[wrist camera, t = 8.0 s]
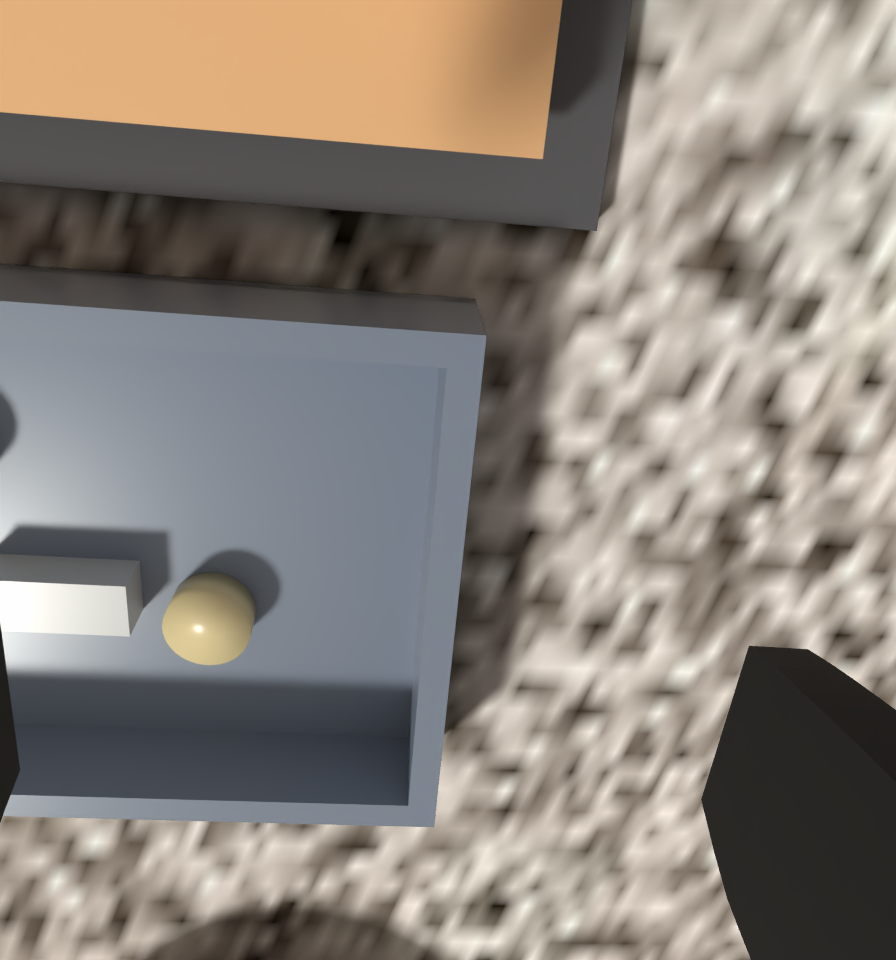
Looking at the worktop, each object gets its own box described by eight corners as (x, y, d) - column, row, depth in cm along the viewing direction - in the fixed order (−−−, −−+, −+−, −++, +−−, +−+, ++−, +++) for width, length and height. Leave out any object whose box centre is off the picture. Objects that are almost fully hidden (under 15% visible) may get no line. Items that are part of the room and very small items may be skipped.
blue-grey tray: (475, 299, 16) (486, 335, 14) (430, 746, 21) (434, 827, 19) (-433, 231, 15) (-580, 259, 13) (-265, 722, 20) (-351, 806, 17)
